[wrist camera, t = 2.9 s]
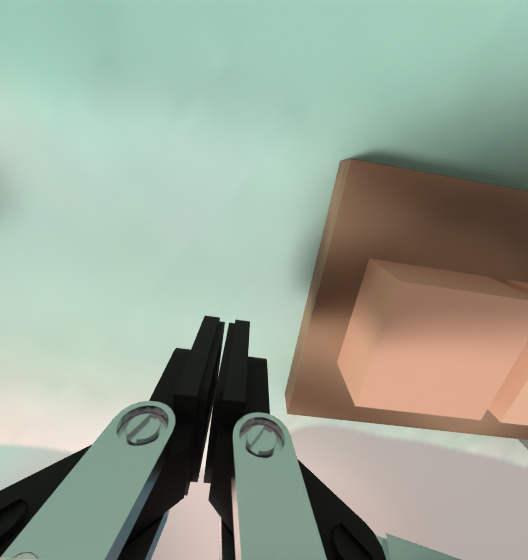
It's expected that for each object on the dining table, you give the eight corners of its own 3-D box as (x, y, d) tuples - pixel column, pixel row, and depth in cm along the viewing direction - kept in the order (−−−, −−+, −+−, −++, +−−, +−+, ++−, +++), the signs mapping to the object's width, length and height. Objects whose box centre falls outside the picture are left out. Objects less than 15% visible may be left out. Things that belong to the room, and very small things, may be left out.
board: (340, 160, 13) (351, 158, 11) (643, 215, 14) (689, 220, 12) (284, 393, 18) (287, 413, 16) (512, 419, 19) (534, 440, 17)
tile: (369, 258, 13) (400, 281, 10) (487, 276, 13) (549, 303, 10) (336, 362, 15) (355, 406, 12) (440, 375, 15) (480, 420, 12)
